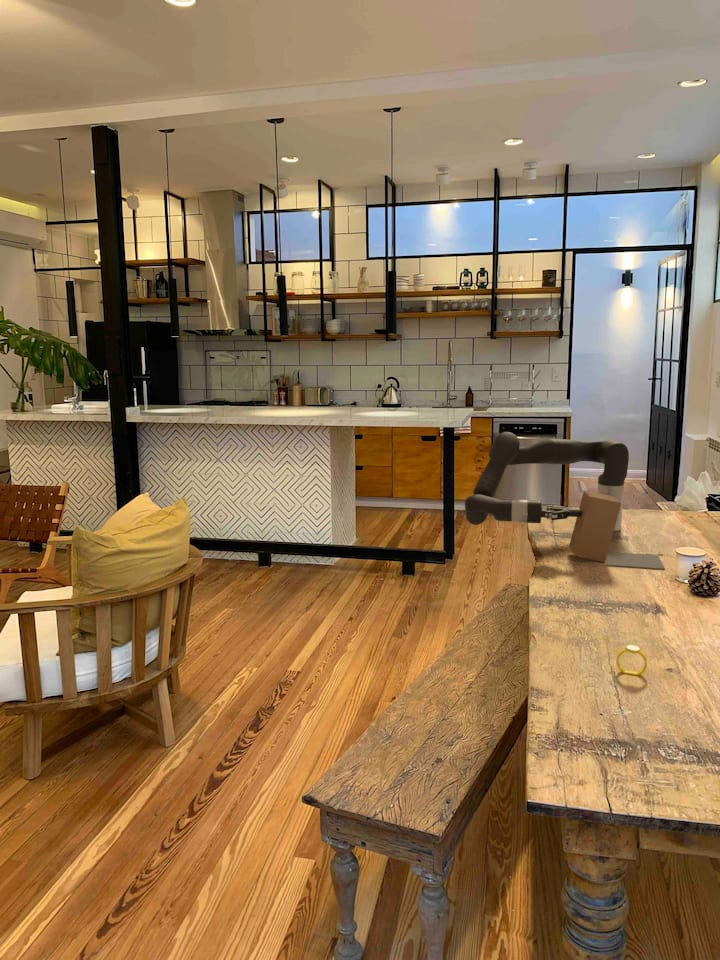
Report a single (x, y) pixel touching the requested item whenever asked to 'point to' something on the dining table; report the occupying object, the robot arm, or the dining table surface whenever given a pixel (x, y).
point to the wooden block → (594, 526)
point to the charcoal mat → (634, 560)
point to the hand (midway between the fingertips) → (581, 513)
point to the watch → (632, 650)
